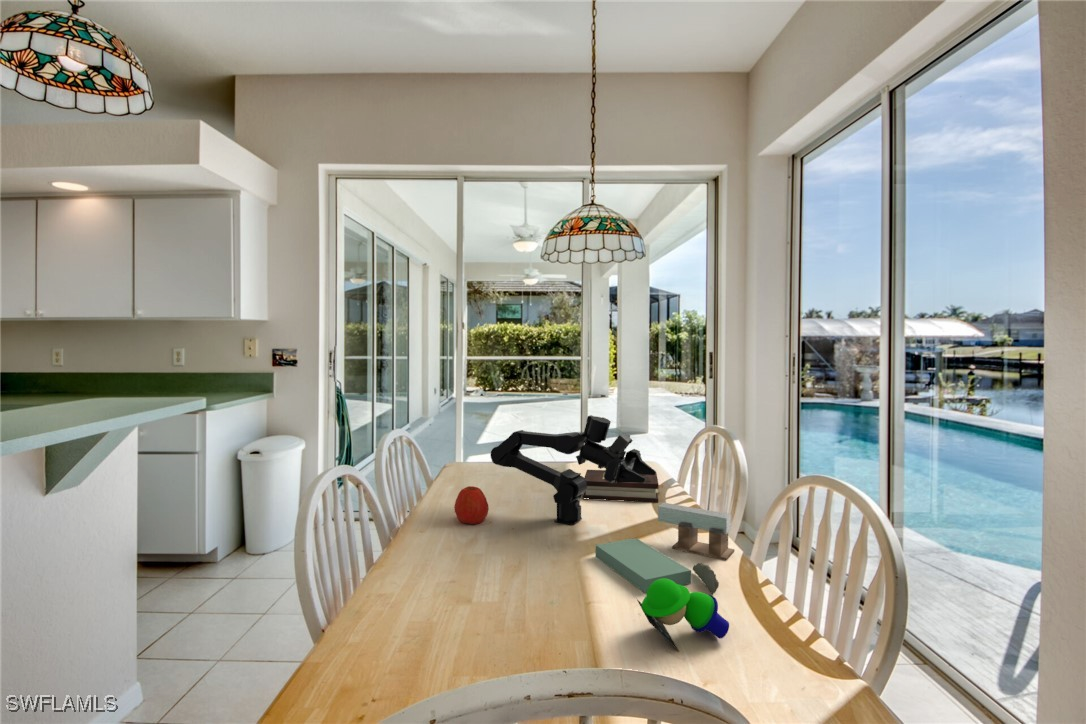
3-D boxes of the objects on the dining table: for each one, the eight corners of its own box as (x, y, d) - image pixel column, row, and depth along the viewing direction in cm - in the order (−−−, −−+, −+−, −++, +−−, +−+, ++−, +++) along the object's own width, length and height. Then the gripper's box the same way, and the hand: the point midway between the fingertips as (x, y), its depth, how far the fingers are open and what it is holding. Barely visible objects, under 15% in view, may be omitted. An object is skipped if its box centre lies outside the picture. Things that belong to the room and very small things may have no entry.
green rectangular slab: (595, 556, 138) (595, 544, 138) (636, 549, 143) (636, 538, 143) (645, 593, 118) (645, 579, 118) (690, 583, 123) (691, 570, 123)
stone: (722, 597, 116) (722, 574, 116) (713, 598, 116) (713, 574, 116) (698, 572, 129) (698, 551, 129) (690, 573, 129) (690, 551, 128)
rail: (658, 520, 147) (658, 506, 147) (663, 517, 150) (664, 502, 150) (726, 534, 137) (726, 518, 137) (730, 529, 140) (731, 514, 140)
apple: (451, 517, 169) (451, 483, 168) (484, 514, 172) (484, 481, 171) (457, 528, 159) (456, 492, 159) (492, 524, 162) (491, 489, 162)
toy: (682, 643, 106) (629, 591, 105) (722, 603, 106) (668, 550, 105) (701, 674, 96) (642, 617, 95) (744, 629, 97) (686, 571, 95)
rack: (672, 548, 144) (672, 522, 143) (681, 540, 149) (681, 515, 149) (726, 560, 136) (726, 533, 135) (734, 551, 141) (734, 525, 141)
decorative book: (581, 466, 206) (662, 469, 201) (580, 486, 207) (662, 489, 202) (575, 479, 187) (666, 482, 182) (575, 501, 188) (665, 505, 183)
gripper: (594, 434, 150) (647, 456, 143) (619, 425, 166) (668, 444, 159) (584, 471, 152) (635, 495, 145) (610, 459, 168) (657, 479, 161)
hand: (650, 476), depth 153 cm, fingers open, 9 cm apart
